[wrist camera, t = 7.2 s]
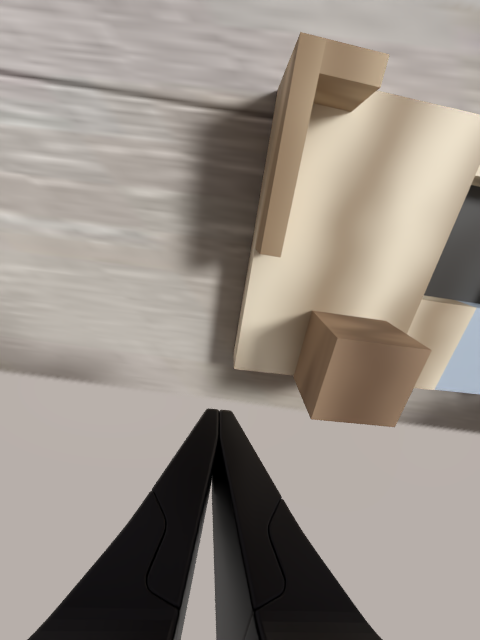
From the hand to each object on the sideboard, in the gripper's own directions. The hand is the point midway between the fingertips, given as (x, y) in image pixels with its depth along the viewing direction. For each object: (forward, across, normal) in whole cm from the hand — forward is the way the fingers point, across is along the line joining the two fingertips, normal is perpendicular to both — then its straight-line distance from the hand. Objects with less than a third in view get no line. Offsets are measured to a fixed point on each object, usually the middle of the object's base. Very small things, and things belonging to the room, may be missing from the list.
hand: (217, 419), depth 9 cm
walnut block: (+8, -8, +1) cm, 11 cm away
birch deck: (+10, -12, -5) cm, 17 cm away
